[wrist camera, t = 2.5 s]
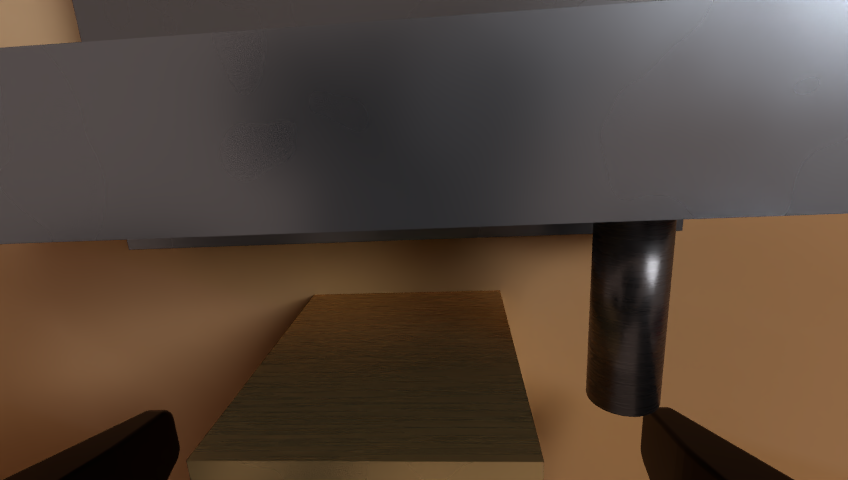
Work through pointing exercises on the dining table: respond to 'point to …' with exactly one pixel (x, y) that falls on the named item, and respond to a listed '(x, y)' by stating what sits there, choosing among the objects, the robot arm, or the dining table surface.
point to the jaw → (447, 138)
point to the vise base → (293, 7)
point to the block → (382, 396)
